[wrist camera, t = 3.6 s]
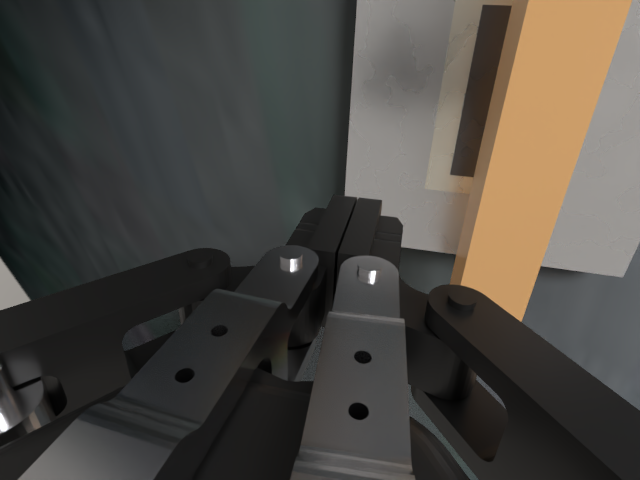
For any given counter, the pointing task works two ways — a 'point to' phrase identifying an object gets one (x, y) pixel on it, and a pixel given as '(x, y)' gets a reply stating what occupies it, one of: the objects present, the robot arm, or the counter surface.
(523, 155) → the swing arm
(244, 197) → the counter surface
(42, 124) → the counter surface
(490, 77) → the plate
